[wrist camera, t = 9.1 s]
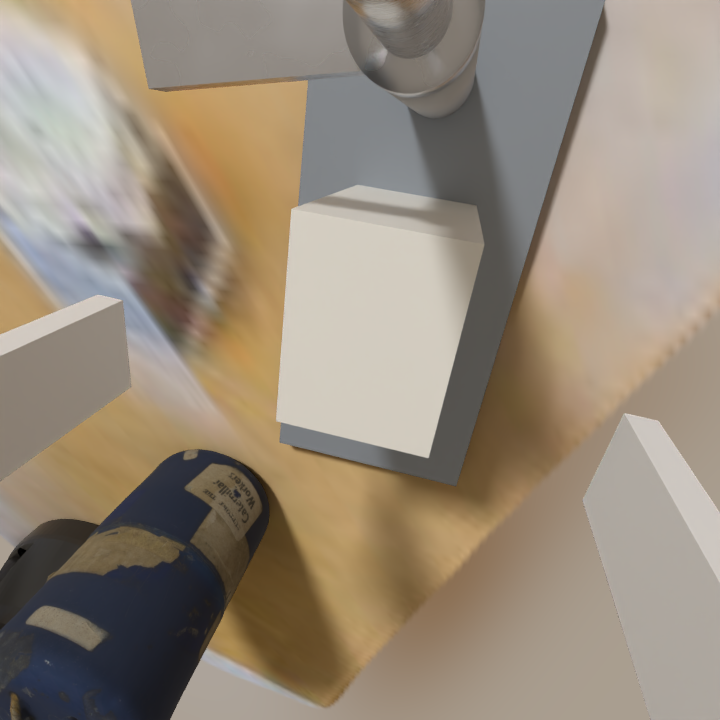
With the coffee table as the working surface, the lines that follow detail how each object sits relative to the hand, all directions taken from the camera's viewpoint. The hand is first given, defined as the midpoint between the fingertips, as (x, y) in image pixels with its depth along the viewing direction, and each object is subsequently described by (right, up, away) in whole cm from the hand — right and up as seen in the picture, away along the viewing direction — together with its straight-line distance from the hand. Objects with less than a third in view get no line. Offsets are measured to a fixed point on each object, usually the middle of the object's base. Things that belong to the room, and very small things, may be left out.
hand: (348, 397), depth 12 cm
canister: (-11, -9, +24) cm, 28 cm away
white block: (+2, +6, +12) cm, 14 cm away
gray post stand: (+3, +6, +14) cm, 15 cm away
